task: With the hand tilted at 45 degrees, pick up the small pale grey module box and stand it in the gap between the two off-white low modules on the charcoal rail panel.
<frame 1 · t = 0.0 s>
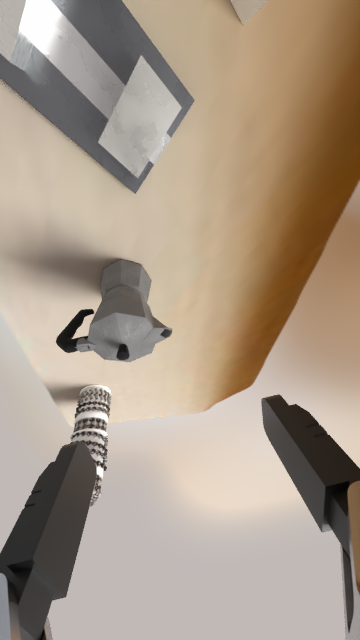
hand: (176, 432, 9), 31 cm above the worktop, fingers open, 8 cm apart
black and white cylinder: (95, 392, 60), on the worktop
rail panel: (86, 71, 22), on the worktop
coffeepot: (120, 282, 39), on the worktop
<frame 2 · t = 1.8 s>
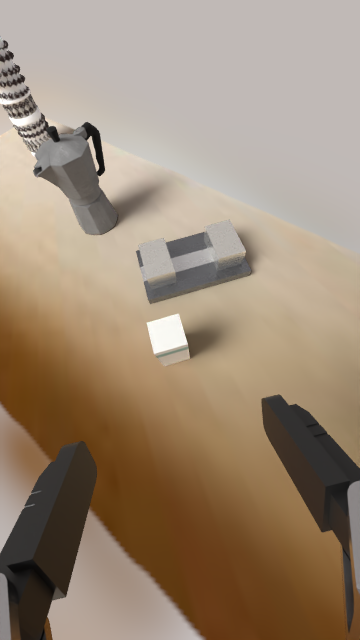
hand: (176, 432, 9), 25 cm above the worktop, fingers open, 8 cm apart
black and white cylinder: (46, 149, 63), on the worktop
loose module: (173, 350, 36), on the worktop
rail panel: (191, 265, 42), on the worktop
coffeepot: (102, 218, 50), on the worktop
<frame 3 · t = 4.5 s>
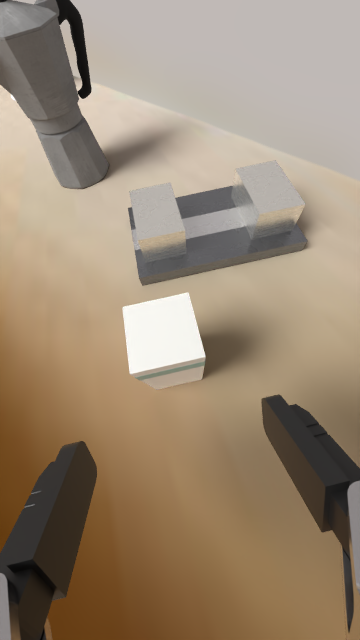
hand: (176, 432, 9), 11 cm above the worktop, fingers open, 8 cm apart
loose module: (174, 362, 21), on the worktop
rail panel: (209, 232, 28), on the worktop
coffeepot: (88, 169, 36), on the worktop
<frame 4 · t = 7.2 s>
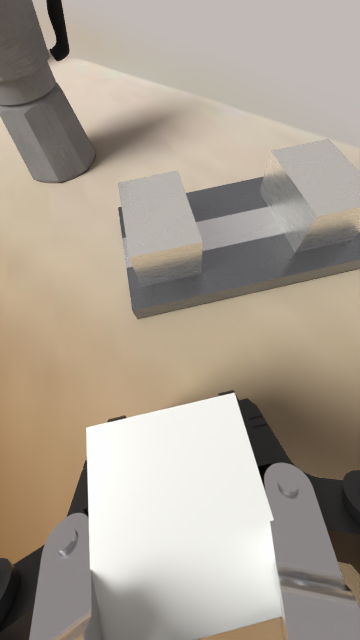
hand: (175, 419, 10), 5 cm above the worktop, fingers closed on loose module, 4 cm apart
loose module: (187, 448, 14), on the worktop, touching gripper
rail panel: (230, 241, 20), on the worktop
coffeepot: (69, 159, 28), on the worktop
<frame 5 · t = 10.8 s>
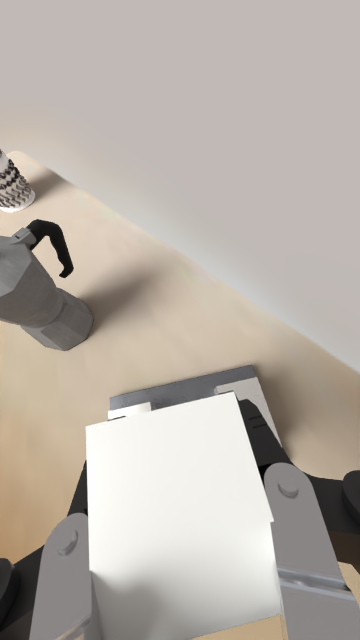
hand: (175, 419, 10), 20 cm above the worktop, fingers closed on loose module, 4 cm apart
black and white cylinder: (18, 200, 49), on the worktop
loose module: (187, 448, 14), point 15 cm above the worktop, touching gripper
rail panel: (191, 428, 28), on the worktop
coffeepot: (72, 320, 36), on the worktop
when the fingers open (8 cm above the worktop, at t = 14.6 s): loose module drops 1 cm, resting on rail panel.
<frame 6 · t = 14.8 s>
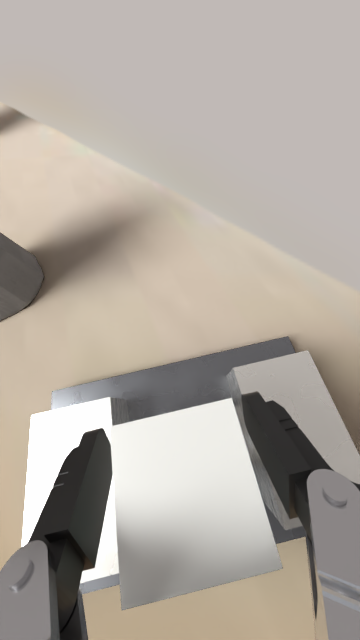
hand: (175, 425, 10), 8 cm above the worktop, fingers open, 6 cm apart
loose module: (190, 446, 15), point 1 cm above the worktop, touching rail panel
rail panel: (188, 442, 16), on the worktop
coffeepot: (14, 280, 24), on the worktop
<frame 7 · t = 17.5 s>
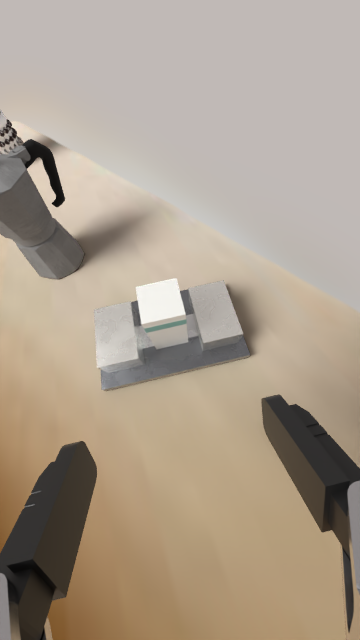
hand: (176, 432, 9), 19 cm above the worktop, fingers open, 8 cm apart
black and white cylinder: (16, 162, 53), on the worktop
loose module: (169, 331, 30), point 1 cm above the worktop, touching rail panel
rail panel: (169, 334, 31), on the worktop
coffeepot: (65, 256, 39), on the worktop
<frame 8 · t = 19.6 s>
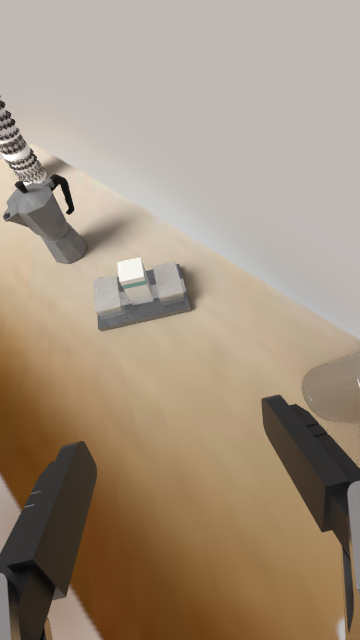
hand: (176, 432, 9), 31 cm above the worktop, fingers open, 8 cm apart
black and white cylinder: (35, 178, 70), on the worktop
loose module: (141, 294, 47), point 1 cm above the worktop, touching rail panel
rail panel: (142, 297, 48), on the worktop
coffeepot: (73, 248, 56), on the worktop
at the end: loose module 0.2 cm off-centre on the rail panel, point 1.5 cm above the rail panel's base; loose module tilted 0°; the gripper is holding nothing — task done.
